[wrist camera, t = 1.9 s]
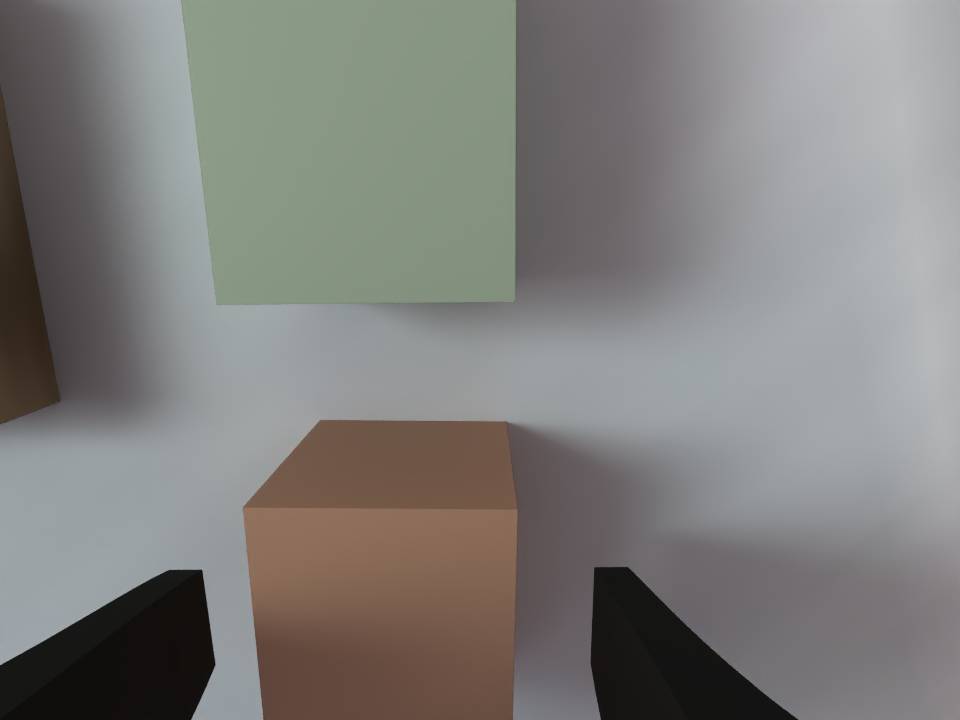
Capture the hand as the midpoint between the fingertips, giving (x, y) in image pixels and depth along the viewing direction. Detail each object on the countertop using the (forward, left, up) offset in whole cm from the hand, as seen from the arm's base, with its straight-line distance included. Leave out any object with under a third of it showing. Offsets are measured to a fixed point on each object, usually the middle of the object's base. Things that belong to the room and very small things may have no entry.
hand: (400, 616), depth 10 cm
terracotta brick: (0, 0, -3) cm, 3 cm away
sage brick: (+9, 0, -3) cm, 9 cm away
